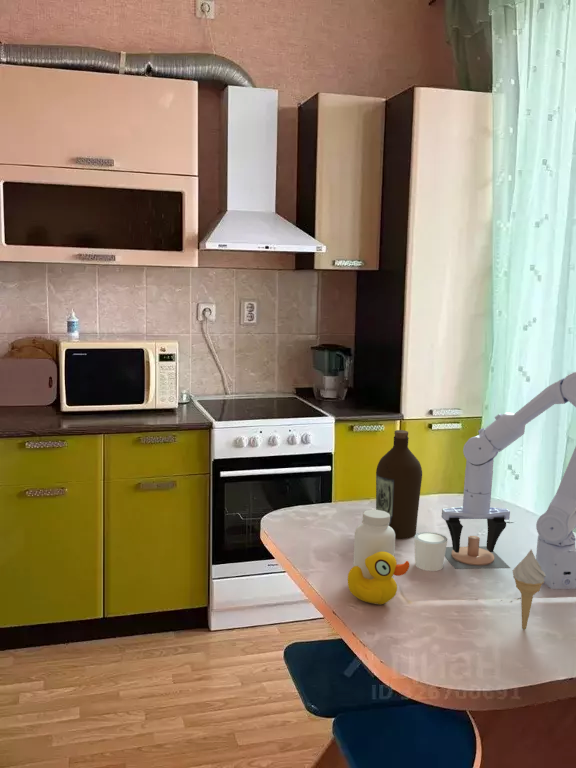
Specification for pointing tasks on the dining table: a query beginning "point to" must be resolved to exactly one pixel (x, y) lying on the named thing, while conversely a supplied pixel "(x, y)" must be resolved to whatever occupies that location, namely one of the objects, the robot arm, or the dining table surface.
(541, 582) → the ice cream cone
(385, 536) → the pill bottle
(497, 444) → the robot arm
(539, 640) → the dining table surface
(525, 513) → the dining table surface
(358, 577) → the duckling
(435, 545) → the white cup
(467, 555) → the lid
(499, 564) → the mat
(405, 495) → the olive oil
